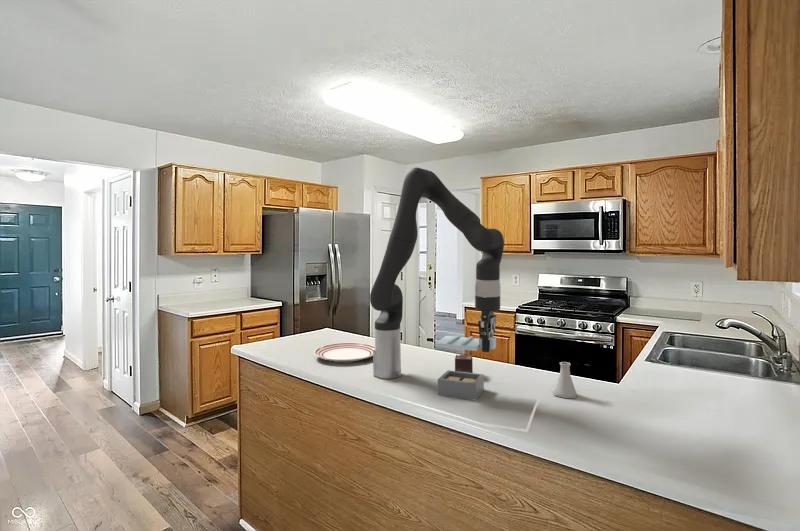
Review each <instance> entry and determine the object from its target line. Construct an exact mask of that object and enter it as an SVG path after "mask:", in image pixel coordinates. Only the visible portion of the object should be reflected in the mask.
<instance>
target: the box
mask: <svg viewBox="0 0 800 531" xmlns="http://www.w3.org/2000/svg"><path fill="white" fill-rule="evenodd" d="M473 369H474V368H473V355H472V354H455V357H454V371H459V372H468V373H474V372H473Z"/></svg>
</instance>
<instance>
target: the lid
mask: <svg viewBox="0 0 800 531" xmlns="http://www.w3.org/2000/svg"><path fill="white" fill-rule="evenodd" d="M434 347H436V348H442V349H444V348H445V349H452V350H463V351H471V352H477V351H478V350H479V349H482V339H480V337H479V338H476V337H474V336H471V335H470V336H469V337H464V336H461V335H460V334H457V335H444V337H442V338H441V339H439V340H437V341H436V342H435V343H434ZM496 347H497V337H496V336H493V337H490V350H495V349H496Z"/></svg>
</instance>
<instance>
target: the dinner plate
mask: <svg viewBox="0 0 800 531" xmlns="http://www.w3.org/2000/svg"><path fill="white" fill-rule="evenodd" d="M374 349H375V345H373V344H369V343H364V342H363V343H362V342H350V341H349V342H336V343H329V344H324V345H322V346H319V347H317V348H315V349H314V350H313V354H314V355H315V356H316V357H318V358H319V359H323V360H326V361H328V360H329V362H331V361H334V362H333V363H340V362H346V363H354V362H353V361H356V362H360V361H359V360H361V361H364V360H367V359H369V358H372V357H373V350H374ZM363 359H364V360H363Z"/></svg>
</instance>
